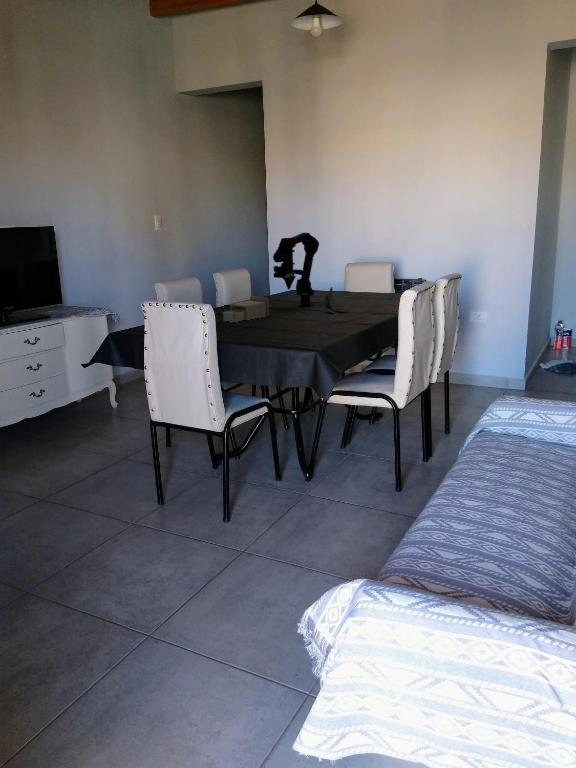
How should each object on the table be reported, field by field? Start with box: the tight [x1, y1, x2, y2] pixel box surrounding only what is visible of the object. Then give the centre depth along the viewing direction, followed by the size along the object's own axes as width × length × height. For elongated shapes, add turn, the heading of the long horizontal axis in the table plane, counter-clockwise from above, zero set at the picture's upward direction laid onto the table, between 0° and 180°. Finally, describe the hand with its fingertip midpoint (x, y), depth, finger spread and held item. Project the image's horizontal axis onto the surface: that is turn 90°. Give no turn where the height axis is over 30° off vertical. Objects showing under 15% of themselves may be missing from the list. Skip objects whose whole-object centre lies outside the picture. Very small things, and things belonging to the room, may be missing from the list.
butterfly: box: [320, 286, 346, 314], centre depth 345 cm, size 17×10×10 cm
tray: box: [222, 295, 270, 323], centre depth 335 cm, size 24×13×10 cm, turn 137°
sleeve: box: [229, 300, 267, 321], centre depth 337 cm, size 14×13×8 cm
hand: (288, 289), depth 355 cm, fingers closed
